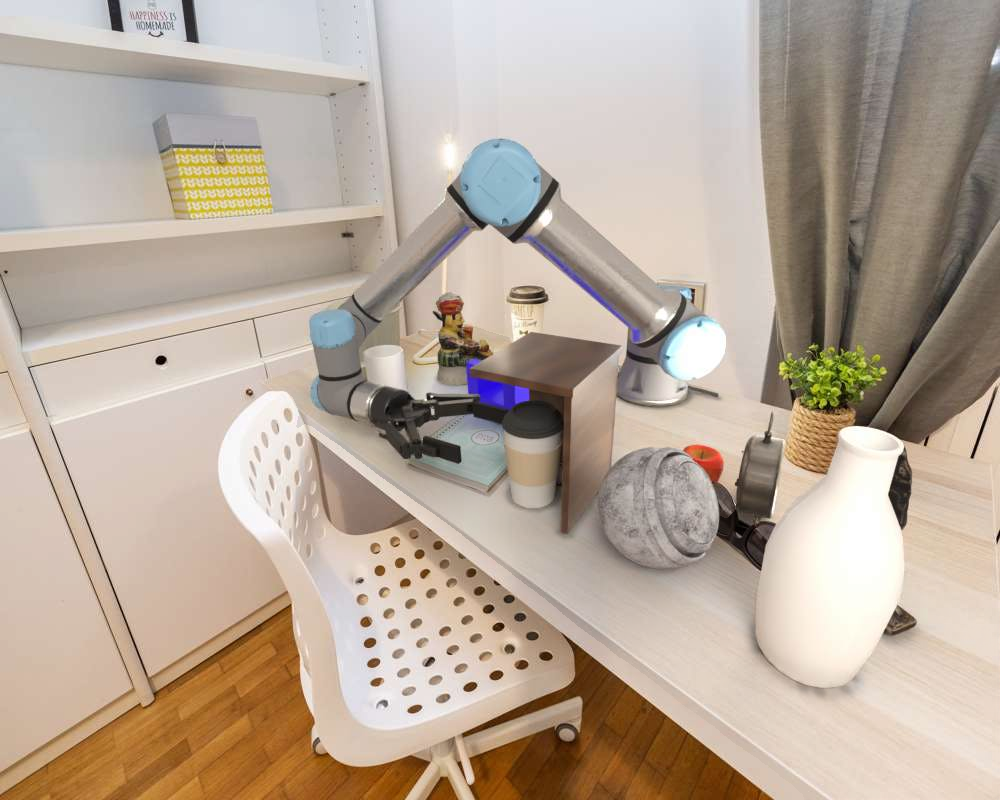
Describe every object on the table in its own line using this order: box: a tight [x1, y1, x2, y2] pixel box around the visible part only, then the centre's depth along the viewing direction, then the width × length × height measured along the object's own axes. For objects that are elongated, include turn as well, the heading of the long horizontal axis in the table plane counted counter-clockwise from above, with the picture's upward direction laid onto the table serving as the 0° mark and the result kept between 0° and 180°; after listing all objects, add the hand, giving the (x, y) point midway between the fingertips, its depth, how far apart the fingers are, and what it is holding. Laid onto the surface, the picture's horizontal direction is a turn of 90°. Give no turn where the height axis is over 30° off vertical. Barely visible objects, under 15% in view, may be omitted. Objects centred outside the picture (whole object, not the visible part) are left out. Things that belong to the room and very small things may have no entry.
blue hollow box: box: [466, 359, 529, 411], centre depth 107 cm, size 21×14×10 cm, turn 134°
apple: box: [682, 444, 725, 484], centre depth 77 cm, size 6×6×8 cm
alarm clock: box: [734, 411, 786, 525], centre depth 71 cm, size 11×5×16 cm, turn 148°
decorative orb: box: [597, 446, 720, 570], centre depth 64 cm, size 15×14×15 cm
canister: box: [322, 287, 403, 381], centre depth 123 cm, size 18×18×21 cm
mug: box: [361, 345, 409, 393], centre depth 108 cm, size 12×8×12 cm
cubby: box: [469, 331, 623, 535], centre depth 76 cm, size 15×18×22 cm
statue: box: [884, 446, 918, 636], centre depth 53 cm, size 4×7×20 cm, turn 22°
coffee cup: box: [501, 400, 564, 509], centre depth 76 cm, size 9×9×15 cm
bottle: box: [754, 425, 906, 689], centre depth 48 cm, size 11×11×25 cm
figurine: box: [432, 292, 494, 386], centre depth 119 cm, size 12×15×20 cm
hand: (485, 435), depth 80 cm, fingers open, 13 cm apart
